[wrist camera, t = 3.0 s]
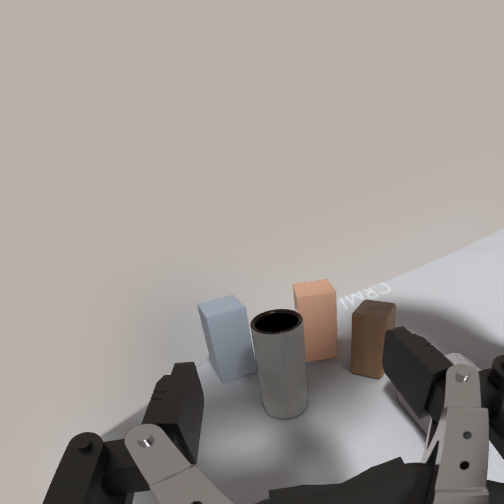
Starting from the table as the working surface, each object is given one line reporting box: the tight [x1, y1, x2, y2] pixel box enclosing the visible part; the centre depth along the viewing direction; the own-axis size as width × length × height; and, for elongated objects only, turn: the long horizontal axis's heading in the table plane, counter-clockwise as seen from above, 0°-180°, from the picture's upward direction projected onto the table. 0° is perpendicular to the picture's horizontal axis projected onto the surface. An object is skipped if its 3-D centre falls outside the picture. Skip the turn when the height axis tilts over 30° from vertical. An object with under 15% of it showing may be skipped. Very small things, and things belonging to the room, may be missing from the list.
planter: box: [250, 309, 308, 419], centre depth 25 cm, size 4×4×10 cm
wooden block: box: [350, 300, 396, 379], centre depth 28 cm, size 4×4×8 cm
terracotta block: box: [293, 279, 337, 362], centre depth 34 cm, size 4×4×9 cm
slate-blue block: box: [197, 295, 257, 383], centre depth 33 cm, size 4×4×9 cm
